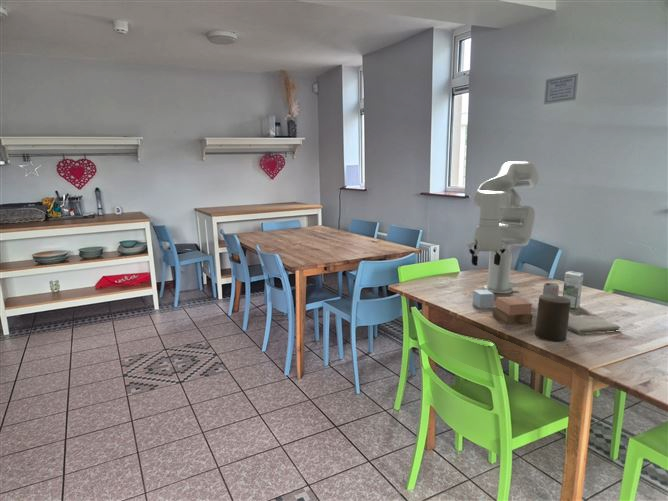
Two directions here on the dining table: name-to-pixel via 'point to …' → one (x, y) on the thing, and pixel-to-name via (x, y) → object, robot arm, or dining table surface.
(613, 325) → the washcloth
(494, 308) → the walnut base block
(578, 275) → the syrup box
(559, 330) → the pillar candle
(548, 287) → the energy drink
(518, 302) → the terracotta block
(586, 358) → the dining table surface
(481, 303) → the blue-grey cube
